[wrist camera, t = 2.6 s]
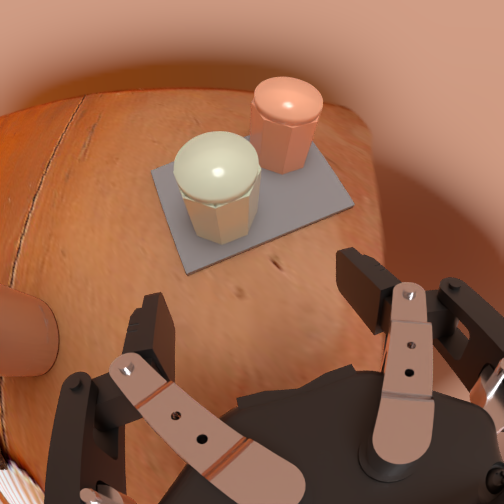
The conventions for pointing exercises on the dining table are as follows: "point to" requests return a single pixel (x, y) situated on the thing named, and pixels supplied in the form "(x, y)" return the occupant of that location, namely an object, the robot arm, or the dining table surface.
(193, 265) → the slate mat
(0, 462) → the shark head
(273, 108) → the faceted peach canister
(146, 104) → the dining table surface
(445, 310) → the robot arm
